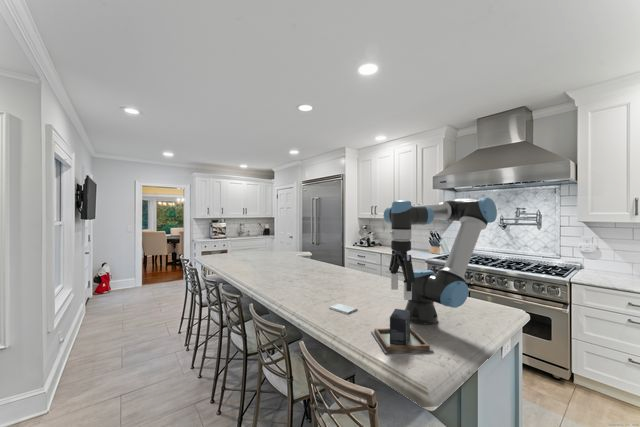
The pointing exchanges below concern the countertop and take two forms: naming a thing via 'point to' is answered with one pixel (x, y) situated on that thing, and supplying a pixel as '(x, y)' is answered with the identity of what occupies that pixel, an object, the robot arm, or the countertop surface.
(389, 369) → the countertop surface
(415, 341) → the wooden picture frame
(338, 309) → the hard drive
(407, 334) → the small box
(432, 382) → the countertop surface
